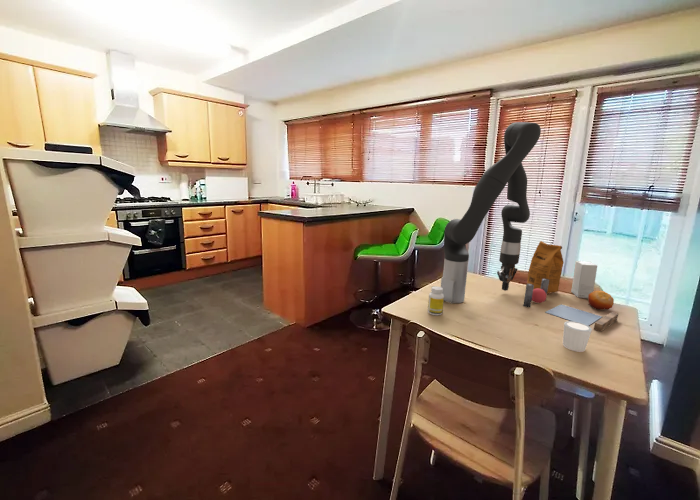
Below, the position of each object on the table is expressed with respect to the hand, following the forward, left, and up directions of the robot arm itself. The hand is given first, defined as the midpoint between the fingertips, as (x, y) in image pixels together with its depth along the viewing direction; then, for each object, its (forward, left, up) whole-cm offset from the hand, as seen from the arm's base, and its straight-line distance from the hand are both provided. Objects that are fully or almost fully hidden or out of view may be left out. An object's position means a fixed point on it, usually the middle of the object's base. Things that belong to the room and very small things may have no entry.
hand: (504, 289), depth 142 cm
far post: (+6, -13, -2) cm, 15 cm away
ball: (+1, -13, +2) cm, 14 cm away
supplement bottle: (-43, +3, -2) cm, 43 cm away
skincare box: (+27, -20, -2) cm, 34 cm away
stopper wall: (0, -37, -2) cm, 37 cm away
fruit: (+16, -30, -2) cm, 34 cm away
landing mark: (0, -27, -2) cm, 27 cm away
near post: (-7, -13, -2) cm, 15 cm away
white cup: (-27, -37, -2) cm, 46 cm away
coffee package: (+19, -7, -2) cm, 20 cm away
